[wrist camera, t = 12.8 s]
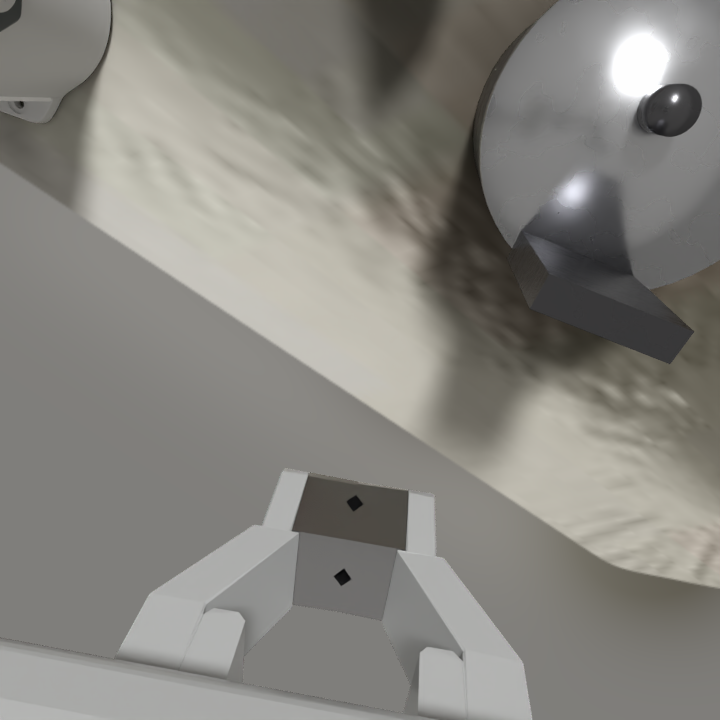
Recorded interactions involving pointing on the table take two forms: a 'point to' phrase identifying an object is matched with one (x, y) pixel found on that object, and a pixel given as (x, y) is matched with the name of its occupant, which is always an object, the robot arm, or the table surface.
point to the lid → (609, 163)
